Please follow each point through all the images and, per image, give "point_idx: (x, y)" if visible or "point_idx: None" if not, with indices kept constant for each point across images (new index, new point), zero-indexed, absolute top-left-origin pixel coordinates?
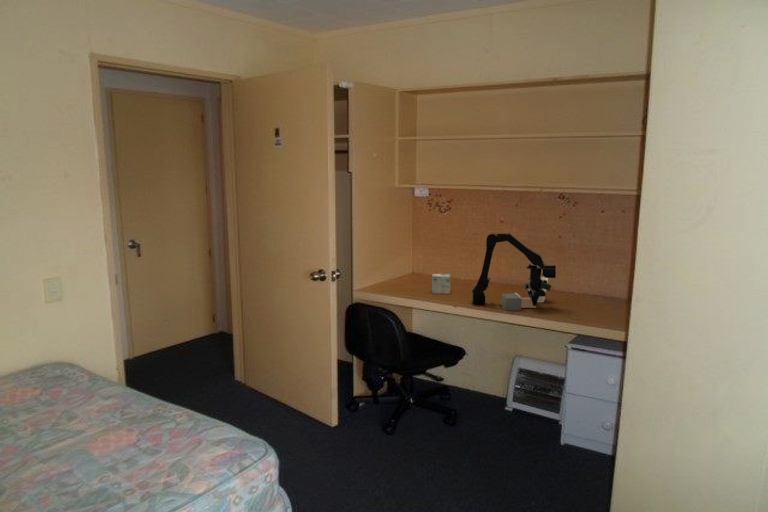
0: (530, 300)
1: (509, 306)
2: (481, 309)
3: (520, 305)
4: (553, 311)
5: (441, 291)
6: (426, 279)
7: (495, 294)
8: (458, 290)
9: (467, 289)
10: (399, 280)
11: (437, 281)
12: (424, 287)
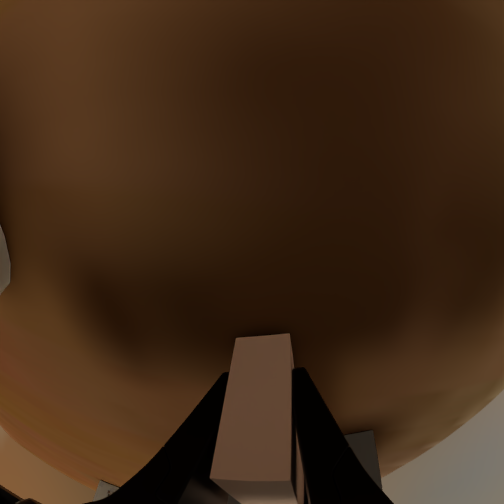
0: (296, 477)
1: None
2: None
3: (378, 470)
4: (461, 85)
5: None
6: (41, 456)
7: (35, 417)
8: (76, 465)
9: (48, 446)
10: (82, 483)
11: None
12: None
